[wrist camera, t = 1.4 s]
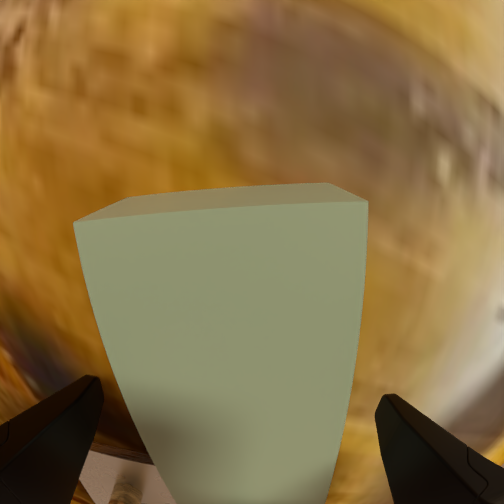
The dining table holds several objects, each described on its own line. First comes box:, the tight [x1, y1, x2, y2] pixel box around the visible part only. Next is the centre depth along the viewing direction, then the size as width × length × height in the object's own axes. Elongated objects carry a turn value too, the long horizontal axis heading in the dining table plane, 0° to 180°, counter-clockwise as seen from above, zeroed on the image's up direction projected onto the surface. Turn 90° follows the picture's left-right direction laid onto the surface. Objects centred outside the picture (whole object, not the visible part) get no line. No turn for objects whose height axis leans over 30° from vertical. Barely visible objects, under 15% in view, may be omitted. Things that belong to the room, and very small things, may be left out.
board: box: [73, 183, 368, 504], centre depth 10 cm, size 12×6×4 cm, turn 4°
